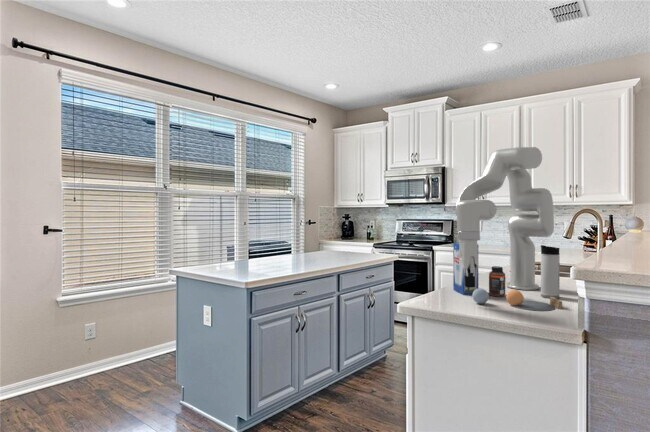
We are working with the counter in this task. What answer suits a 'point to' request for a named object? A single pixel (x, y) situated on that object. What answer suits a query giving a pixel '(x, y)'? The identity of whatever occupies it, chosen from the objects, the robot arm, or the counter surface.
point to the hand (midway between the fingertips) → (469, 286)
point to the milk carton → (461, 274)
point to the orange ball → (514, 297)
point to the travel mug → (550, 271)
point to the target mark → (535, 306)
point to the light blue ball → (480, 295)
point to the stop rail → (556, 302)
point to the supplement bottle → (497, 282)
